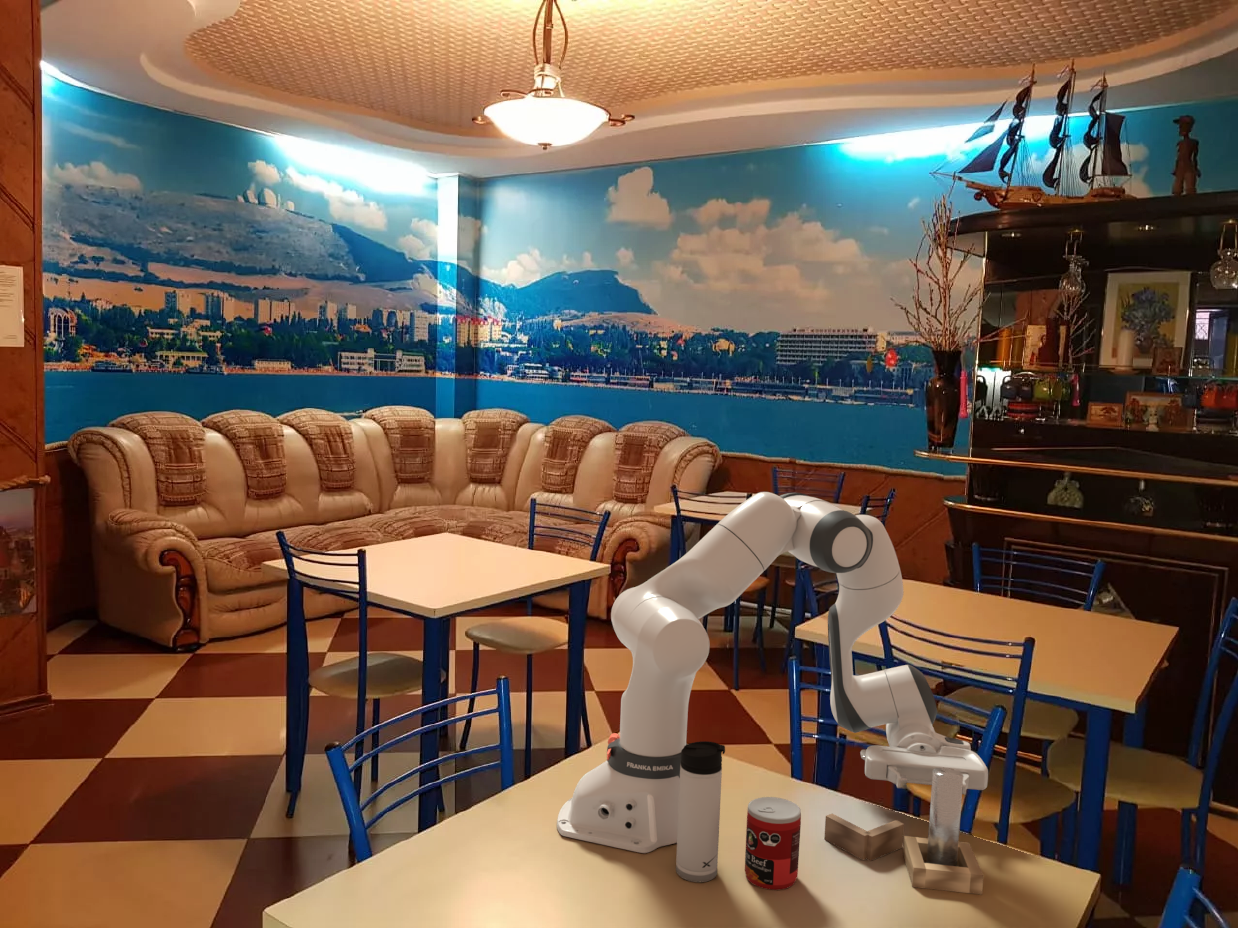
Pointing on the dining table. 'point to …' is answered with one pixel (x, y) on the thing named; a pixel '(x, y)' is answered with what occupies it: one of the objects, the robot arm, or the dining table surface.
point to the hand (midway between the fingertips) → (931, 786)
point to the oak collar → (942, 868)
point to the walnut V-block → (864, 837)
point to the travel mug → (699, 811)
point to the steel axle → (944, 816)
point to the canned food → (772, 842)
